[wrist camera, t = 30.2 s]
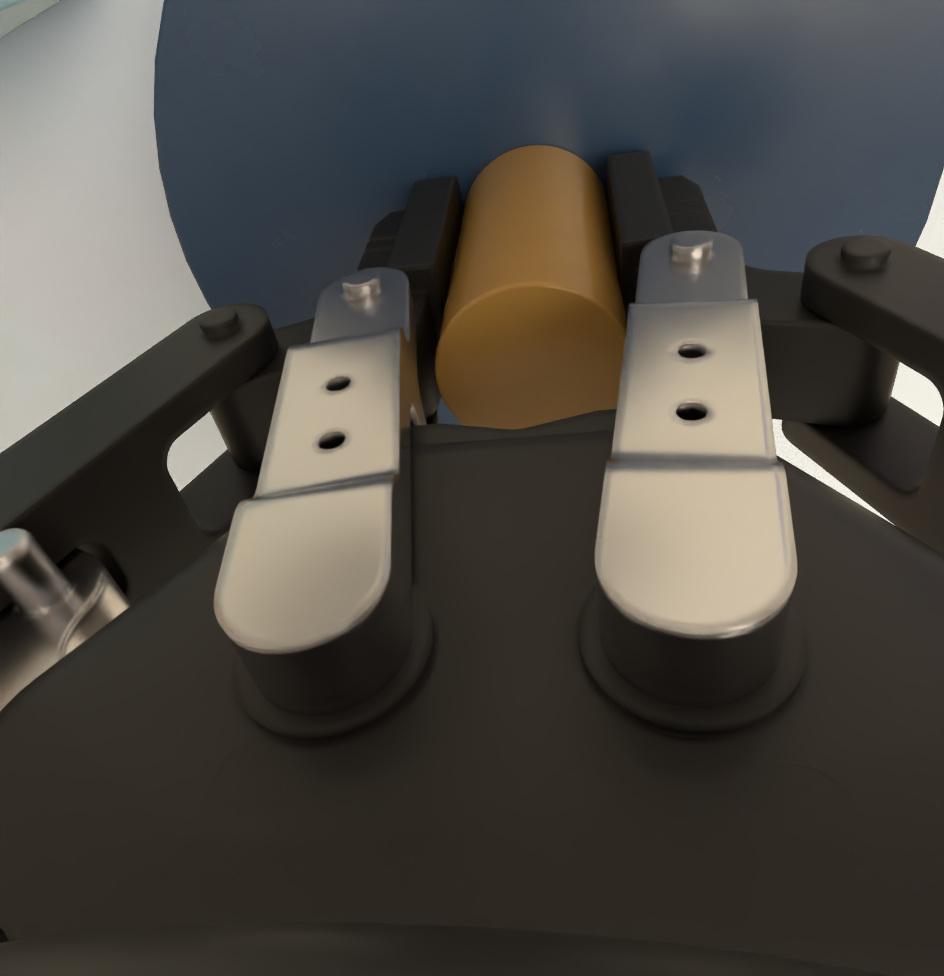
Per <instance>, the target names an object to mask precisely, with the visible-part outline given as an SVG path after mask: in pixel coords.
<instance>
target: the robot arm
mask: <svg viewBox="0 0 944 976" xmlns="http://www.w3.org/2000/svg"><path fill="white" fill-rule="evenodd" d="M606 185H607V200H608V206H609V212H610V218H611V225H612V231H613V237H614V243H615V250H616V256H617V262H618V269H619V275H620V281H621V287H622V294H623V299H624V303H625V308H626V314H627V320H628V321H627V329H626V337H625V345H624V354H623V362H622V370H621V379H620V387H619V395H618V403H617V409H610V410H598V411H593V412H589V413H585V414H581V415H577V416H573V417H569V418H564V419H560V420H556V421H552V422H548V423H544V424H540V425H536V426H532V427H527V428H523V429H500V428H488V427H477V426H465V425H453V424H442V423H441V421H440V416H439V412H438V406H439V403H440V398H442V396H441V394H440V392H439V389H438V385H437V382H436V376H435V355H436V349H437V344H438V339H439V334H440V329H441V324H442V319H443V314H444V308H445V303H446V298H447V293H448V288H449V283H450V278H451V273H452V268H453V263H454V258H455V253H456V248H457V243H458V237H459V232H460V227H461V222H462V217H463V212H464V209H463V203H462V197H461V191H460V186H459V182H458V179H457V177H456V176H452V177H444V178H437V179H429V180H422V181H416V182H415V184H414V187H413V190H412V193H411V196H410V199H409V202H408V204H407V207H406V210H405V211H397V212H390V213H389V214H388V215H387V216H386V217H384V218H383V219H382V220H381V221H380V222H378V223H377V224H376V225H375V226H374V228H373V231H372V233H371V236H370V238H369V242H368V243H367V246H366V248H365V253H363V256H362V258H361V261H360V263H359V266H358V268H357V271H354V272H350V273H348V274H345V275H343V276H341V277H338V278H336V279H335V280H333V281H331V282H330V283H329V284H327V285H326V286H325V287H324V288H323V289H322V291H321V292H320V294H319V297H318V303H317V308H316V314H315V317H314V318H312V319H309V320H306V321H302V322H299V323H295V324H292V325H288V326H284V327H281V328H277V329H273V327H272V325H271V322H270V319H269V317H268V314H267V312H266V310H265V309H264V308H263V307H261V306H258V305H255V304H247V303H241V304H231V305H226V306H222V307H218V308H215V309H212V310H209V311H207V312H205V313H202V314H200V315H198V316H196V317H195V318H193V319H192V320H190V321H189V322H187V323H186V324H184V325H183V326H181V327H180V328H179V329H177V330H176V331H174V332H173V333H171V334H170V335H169V336H167V337H166V338H164V339H163V340H161V341H160V342H159V343H157V344H156V345H154V346H153V347H151V348H150V349H149V350H147V351H146V352H144V353H143V354H141V355H140V356H139V357H137V358H136V359H134V360H133V361H131V362H130V363H129V364H127V365H126V366H124V367H123V368H122V369H120V370H119V371H117V372H116V373H114V374H113V375H112V376H110V377H109V378H107V379H106V380H104V381H103V382H102V383H100V384H99V385H97V386H96V387H94V388H93V389H92V390H90V391H89V392H87V393H86V394H84V395H83V396H82V397H80V398H79V399H77V400H76V401H74V402H73V403H72V404H70V405H69V406H67V407H66V408H65V409H63V410H62V411H60V412H59V413H57V414H56V415H55V416H53V417H52V418H50V419H49V420H47V421H46V422H45V423H43V424H42V425H40V426H39V427H37V428H36V429H35V430H33V431H32V432H30V433H29V434H27V435H26V436H25V437H23V438H22V439H20V440H19V441H17V442H16V443H15V444H13V445H12V446H10V447H9V448H7V449H6V450H5V451H3V452H2V453H0V976H944V412H943V418H942V421H941V424H940V427H939V426H937V425H935V424H934V423H932V422H931V421H929V420H928V419H926V418H924V417H923V416H921V415H920V414H918V413H916V412H915V411H913V410H912V409H910V408H909V407H907V406H905V405H904V404H902V403H901V402H899V401H897V400H896V399H894V398H893V397H891V393H892V389H893V386H894V382H895V378H896V374H897V370H898V366H899V362H901V363H903V364H904V365H906V366H908V367H910V368H911V369H913V370H915V371H916V372H918V373H920V374H922V375H923V376H925V377H926V378H928V379H929V380H930V381H931V382H932V383H933V384H934V385H935V386H936V388H937V389H938V391H939V393H940V395H941V397H942V401H943V407H944V259H943V258H941V257H938V256H936V255H934V254H931V253H929V252H927V251H924V250H922V249H920V248H917V247H915V246H913V245H910V244H908V243H905V242H903V241H900V240H896V239H892V238H887V237H881V236H866V235H860V236H847V237H840V238H835V239H831V240H828V241H825V242H822V243H820V244H818V245H816V246H815V247H813V248H812V249H811V250H810V251H809V252H808V254H807V256H806V261H805V268H804V272H789V271H773V270H764V269H758V268H754V267H750V266H747V265H745V264H744V255H743V248H742V245H741V244H740V242H739V241H737V240H736V239H735V238H733V237H731V236H728V235H725V234H722V233H718V231H717V228H716V226H715V223H714V221H713V219H712V216H711V214H710V212H709V209H708V206H707V204H706V201H704V196H703V194H702V191H701V189H700V186H699V185H698V184H696V183H694V182H693V181H691V180H689V179H687V178H686V177H684V176H682V175H680V176H672V177H664V178H657V175H656V171H655V168H654V165H653V161H652V158H651V155H650V152H649V150H647V151H640V152H632V153H625V154H617V155H610V156H606ZM209 411H210V412H211V414H212V417H213V419H214V421H215V423H216V425H217V427H218V429H219V431H220V433H221V436H222V438H223V440H224V442H225V444H226V446H227V448H228V449H227V450H226V451H225V452H224V453H223V454H222V455H221V456H219V457H218V458H217V459H216V460H215V461H214V462H213V463H212V464H210V465H209V466H208V467H207V468H206V469H205V470H204V471H202V472H201V473H200V474H199V475H198V476H197V477H196V478H194V479H193V480H192V481H191V482H190V483H189V484H188V485H187V486H185V487H184V488H183V489H182V490H181V491H180V492H179V491H178V489H177V487H176V485H175V483H174V482H173V480H172V478H171V476H170V474H169V472H168V469H167V455H168V452H169V449H170V447H171V445H172V443H173V442H174V441H175V440H176V439H177V438H178V437H179V436H180V435H181V434H183V433H184V432H185V431H186V430H187V429H189V428H190V427H191V426H192V425H194V424H195V423H196V422H197V421H198V420H200V419H201V418H202V417H203V416H205V415H206V414H207V413H208V412H209ZM772 419H780V420H782V431H783V433H784V435H785V437H786V438H787V440H788V441H790V442H791V443H792V444H793V445H794V446H795V447H797V448H798V449H799V450H800V451H802V452H803V453H804V454H806V455H807V456H808V457H809V458H811V459H812V460H813V461H814V462H816V463H817V464H818V465H819V466H821V467H822V468H823V469H825V470H826V471H827V472H828V473H830V474H831V475H832V476H833V477H835V478H836V479H837V480H838V481H840V482H841V483H842V484H843V485H845V486H846V487H847V488H849V489H850V490H851V491H852V492H854V493H855V494H856V495H857V496H859V497H860V498H861V499H862V500H864V501H865V502H866V503H868V504H869V505H870V506H871V507H873V508H874V509H875V510H876V511H878V512H879V513H880V514H881V515H883V516H884V517H885V518H887V519H888V520H889V521H890V522H892V523H893V524H894V525H893V524H891V523H890V522H888V521H886V520H884V519H883V518H881V517H879V516H878V515H876V514H874V513H873V512H871V511H869V510H868V509H866V508H864V507H863V506H861V505H859V504H858V503H856V502H854V501H853V500H851V499H849V498H848V497H846V496H844V495H842V494H841V493H839V492H837V491H836V490H834V489H832V488H831V487H829V486H827V485H826V484H824V483H822V482H821V481H819V480H817V479H816V478H814V477H812V476H811V475H809V474H807V473H805V472H804V471H802V470H800V469H799V468H797V467H795V466H794V465H792V464H790V463H789V462H787V461H785V460H784V459H782V458H780V457H779V456H777V455H776V450H775V442H774V433H773V425H772ZM896 526H897V527H896Z"/></svg>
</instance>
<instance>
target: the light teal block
mask: <svg viewBox="0 0 944 976" xmlns="http://www.w3.org/2000/svg"><path fill="white" fill-rule="evenodd" d="M59 1H61V0H0V38H1V37H2V36H4V35H6V34H7V33H9V32H10V31H12V30H14V29H15V28H17V27H19V26H20V25H22V24H23V23H25V22H27V21H28V20H30V19H32V18H33V17H35V16H36V15H38V14H40V13H41V12H43V11H45V10H46V9H48V8H50V7H51V6H53V5H54V4H56V3H58V2H59Z"/></svg>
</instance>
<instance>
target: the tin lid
mask: <svg viewBox="0 0 944 976" xmlns="http://www.w3.org/2000/svg"><path fill="white" fill-rule="evenodd" d="M154 121H155V131H156V140H157V150H158V159H159V169H160V173H161V177H162V181H163V186H164V190H165V194H166V199H167V203H168V207H169V212H170V216H171V219H172V222H173V225H174V227H175V230H176V233H177V236H178V239H179V241H180V244H181V247H182V250H183V252H184V255H185V258H186V261H187V263H188V265H189V267H190V269H191V271H192V273H193V275H194V277H195V279H196V281H197V283H198V285H199V287H200V289H201V291H202V293H203V295H204V297H205V299H206V301H207V303H208V305H209V306H210V308H211V309H215V308H218V307H222V306H226V305H231V304H241V303H247V304H255V305H258V306H261V307H263V308H264V309H265V310H266V312H267V314H268V317H269V319H270V322H271V325H272V327H273V329H277V328H281V327H284V326H288V325H292V324H295V323H299V322H302V321H306V320H309V319H312V318H314V317H315V314H316V308H317V303H318V297H319V294H320V292H321V291H322V289H323V288H324V287H325V286H326V285H327V284H329V283H330V282H331V281H333V280H335V279H336V278H338V277H341V276H343V275H345V274H348V273H350V272H354V271H357V268H358V266H359V263H360V261H361V258H362V256H363V253H365V248H366V246H367V243H368V242H369V238H370V236H371V233H372V231H373V228H374V226H375V225H376V224H377V223H378V222H380V221H381V220H382V219H383V218H384V217H386V216H387V215H388V214H389V213H390V212H397V211H405V210H406V207H407V204H408V202H409V199H410V196H411V193H412V190H413V187H414V184H415V182H416V181H422V180H429V179H437V178H444V177H452V176H456V177H457V179H458V182H459V186H460V191H461V197H462V203H463V209H464V212H463V217H462V222H461V227H460V232H459V237H458V243H457V248H456V253H455V258H454V263H453V268H452V273H451V278H450V283H449V288H448V293H447V298H446V303H445V308H444V314H443V319H442V324H441V329H440V334H439V339H438V344H437V349H436V355H435V376H436V382H437V385H438V389H439V392H440V394H441V396H442V398H440V403H439V406H438V412H439V416H440V421H441V423H442V424H453V425H465V426H477V427H488V428H500V429H523V428H527V427H532V426H536V425H540V424H544V423H548V422H552V421H556V420H560V419H564V418H569V417H573V416H577V415H581V414H585V413H589V412H593V411H598V410H610V409H617V403H618V395H619V387H620V379H621V370H622V362H623V354H624V345H625V337H626V329H627V321H628V320H627V314H626V308H625V303H624V299H623V294H622V287H621V281H620V275H619V269H618V262H617V256H616V250H615V243H614V237H613V231H612V225H611V218H610V212H609V206H608V200H607V185H606V156H610V155H617V154H625V153H632V152H640V151H647V150H649V152H650V155H651V158H652V161H653V165H654V168H655V171H656V175H657V178H664V177H672V176H680V175H682V176H684V177H686V178H687V179H689V180H691V181H693V182H694V183H696V184H698V185H699V186H700V189H701V191H702V194H703V196H704V201H706V204H707V206H708V209H709V212H710V214H711V216H712V219H713V221H714V223H715V226H716V228H717V231H718V233H722V234H725V235H728V236H731V237H733V238H735V239H736V240H737V241H739V242H740V244H741V245H742V248H743V255H744V264H745V265H747V266H750V267H754V268H758V269H764V270H773V271H789V272H804V268H805V261H806V256H807V254H808V252H809V251H810V250H811V249H812V248H813V247H815V246H816V245H818V244H820V243H822V242H825V241H828V240H831V239H835V238H840V237H847V236H860V235H866V236H881V237H887V238H892V239H896V240H900V241H903V242H905V243H908V244H910V245H913V246H916V244H917V241H918V239H919V237H920V235H921V233H922V230H923V228H924V226H925V224H926V222H927V219H928V216H929V213H930V209H931V206H932V203H933V200H934V197H935V194H936V191H937V187H938V184H939V181H940V178H941V175H942V172H943V168H944V0H164V3H163V10H162V17H161V23H160V30H159V36H158V43H157V49H156V56H155V81H154Z"/></svg>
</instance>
